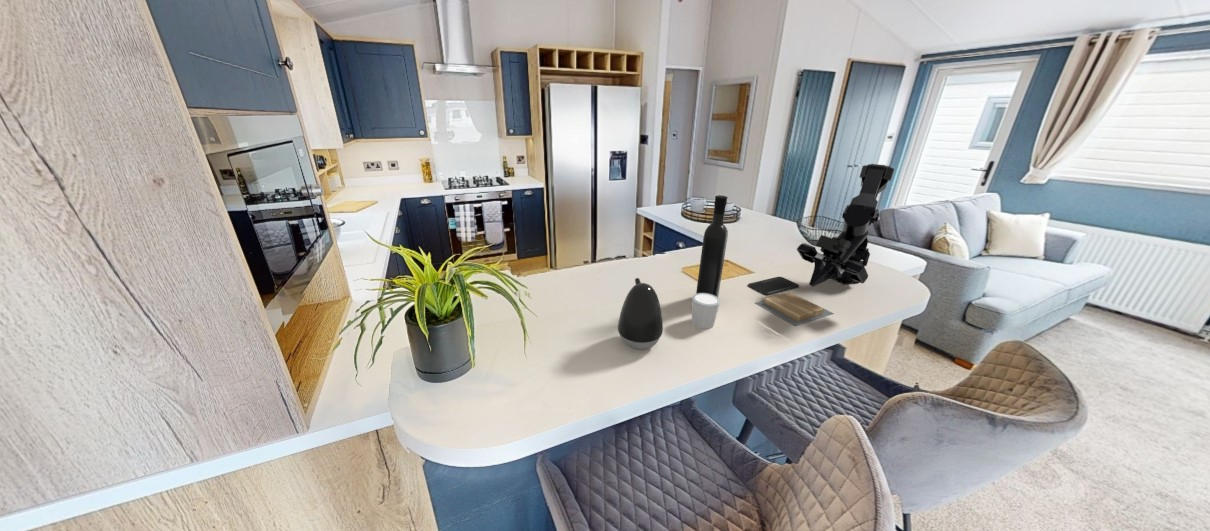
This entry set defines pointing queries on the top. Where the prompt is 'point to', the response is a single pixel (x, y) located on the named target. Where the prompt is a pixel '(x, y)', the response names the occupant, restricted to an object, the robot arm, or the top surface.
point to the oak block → (794, 306)
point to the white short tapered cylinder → (704, 310)
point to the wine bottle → (713, 251)
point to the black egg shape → (640, 317)
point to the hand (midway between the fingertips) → (810, 285)
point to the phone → (773, 285)
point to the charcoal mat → (790, 320)
